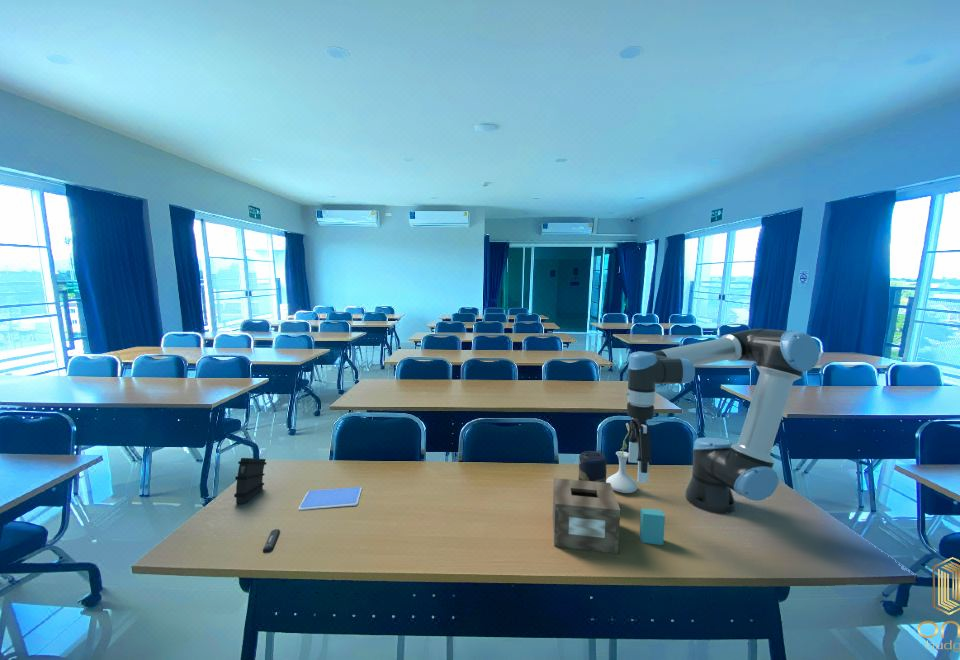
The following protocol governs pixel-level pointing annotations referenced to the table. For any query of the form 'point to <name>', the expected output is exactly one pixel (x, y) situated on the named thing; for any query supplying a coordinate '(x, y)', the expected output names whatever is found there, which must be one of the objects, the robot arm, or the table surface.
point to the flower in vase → (622, 473)
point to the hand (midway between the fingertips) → (637, 471)
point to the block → (652, 526)
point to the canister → (592, 466)
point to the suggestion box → (585, 515)
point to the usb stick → (271, 540)
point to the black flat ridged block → (249, 479)
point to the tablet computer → (331, 498)
